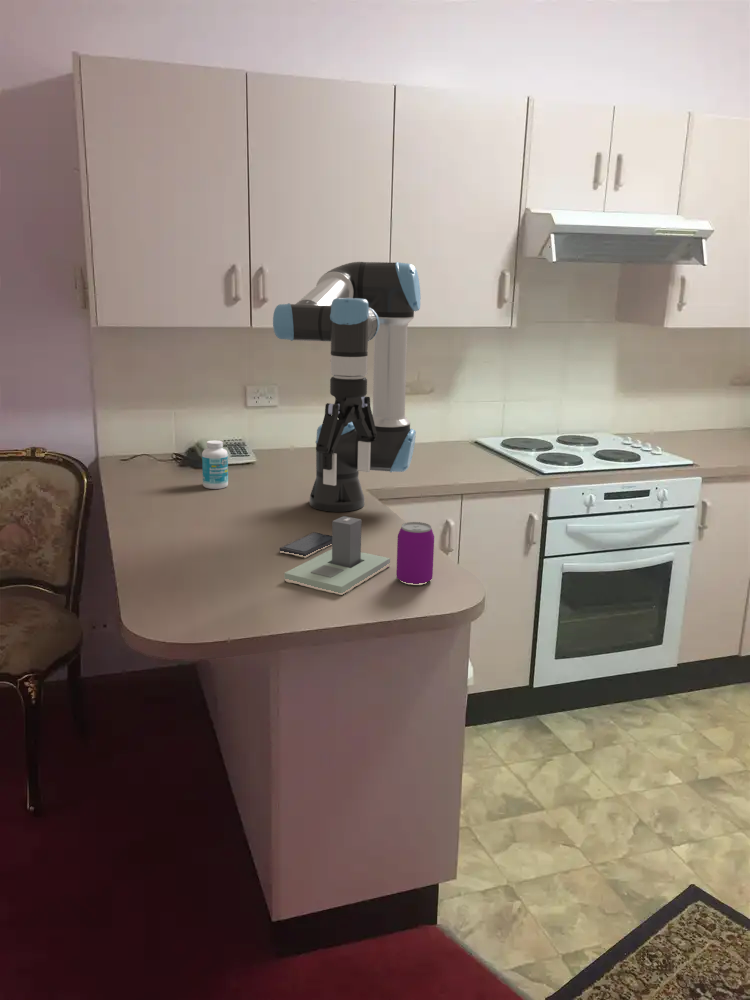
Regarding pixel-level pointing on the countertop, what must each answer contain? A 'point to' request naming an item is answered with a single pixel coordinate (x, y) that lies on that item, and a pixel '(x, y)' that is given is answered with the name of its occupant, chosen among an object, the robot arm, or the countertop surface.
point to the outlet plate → (335, 572)
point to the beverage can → (415, 553)
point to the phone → (308, 544)
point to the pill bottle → (215, 465)
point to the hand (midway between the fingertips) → (347, 477)
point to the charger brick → (346, 541)
